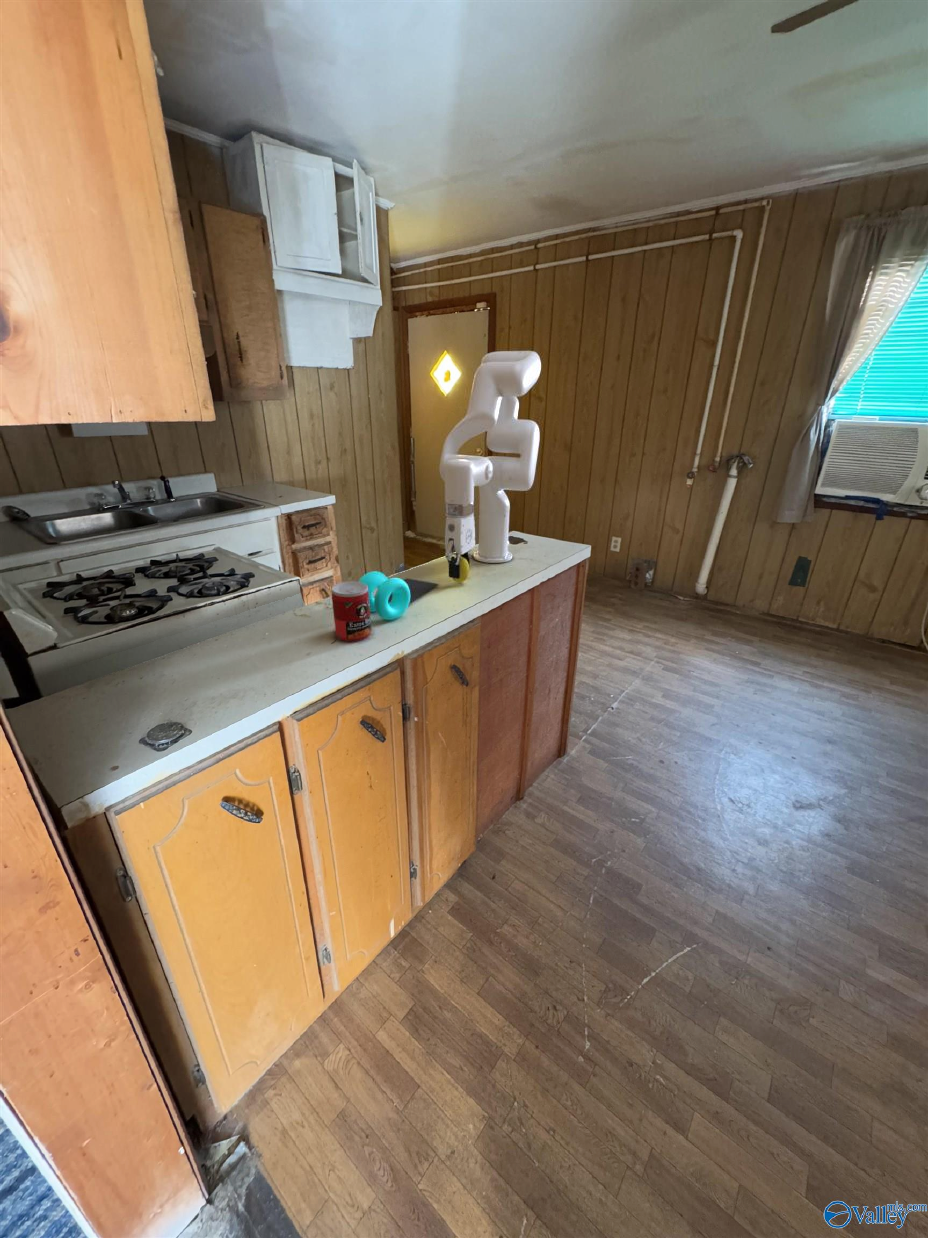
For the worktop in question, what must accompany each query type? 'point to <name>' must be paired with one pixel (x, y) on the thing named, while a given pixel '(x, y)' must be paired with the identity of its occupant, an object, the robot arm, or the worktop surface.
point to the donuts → (386, 595)
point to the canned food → (351, 610)
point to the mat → (416, 589)
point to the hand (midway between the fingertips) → (459, 573)
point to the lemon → (463, 570)
